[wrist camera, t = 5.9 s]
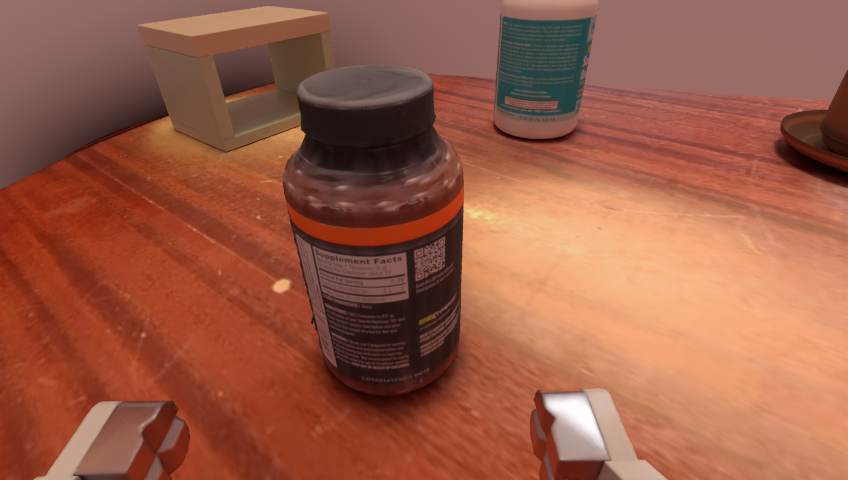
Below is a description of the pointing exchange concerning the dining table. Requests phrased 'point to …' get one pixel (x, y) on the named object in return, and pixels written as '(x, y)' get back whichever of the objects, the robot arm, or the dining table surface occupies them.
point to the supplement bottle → (378, 226)
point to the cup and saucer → (822, 131)
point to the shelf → (198, 79)
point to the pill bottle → (542, 65)
